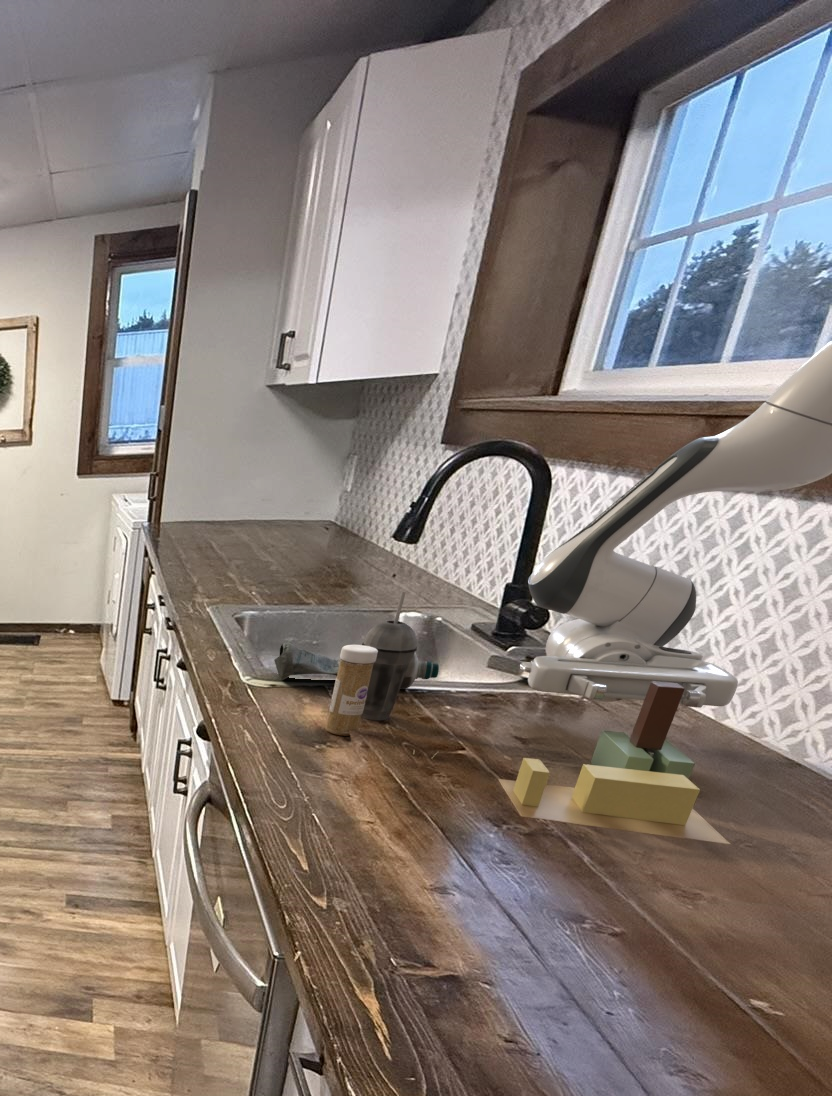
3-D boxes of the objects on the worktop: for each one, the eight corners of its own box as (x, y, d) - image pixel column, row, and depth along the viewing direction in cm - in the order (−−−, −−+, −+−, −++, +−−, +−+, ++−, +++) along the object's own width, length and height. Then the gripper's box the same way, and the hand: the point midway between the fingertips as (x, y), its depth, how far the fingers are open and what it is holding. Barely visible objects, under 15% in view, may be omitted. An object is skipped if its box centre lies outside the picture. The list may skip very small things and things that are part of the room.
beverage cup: (340, 716, 134) (368, 594, 126) (353, 705, 139) (380, 586, 131) (392, 726, 129) (424, 599, 121) (404, 714, 134) (435, 591, 126)
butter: (669, 809, 97) (683, 774, 95) (685, 825, 93) (700, 789, 91) (571, 797, 101) (583, 763, 99) (582, 812, 97) (595, 777, 95)
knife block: (645, 778, 108) (662, 735, 106) (677, 808, 100) (695, 763, 98) (586, 771, 111) (601, 730, 109) (612, 800, 103) (629, 756, 100)
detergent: (269, 685, 150) (438, 699, 138) (276, 646, 148) (448, 657, 136) (272, 672, 161) (429, 684, 148) (278, 636, 158) (438, 645, 146)
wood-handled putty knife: (633, 782, 107) (672, 680, 102) (648, 797, 103) (689, 691, 98) (609, 779, 108) (647, 678, 103) (623, 794, 104) (662, 689, 99)
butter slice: (528, 792, 102) (539, 759, 101) (538, 806, 99) (550, 772, 97) (512, 790, 103) (523, 757, 101) (521, 804, 99) (533, 770, 98)
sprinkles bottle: (348, 738, 125) (368, 652, 120) (318, 730, 129) (336, 646, 123) (364, 732, 127) (384, 647, 122) (334, 724, 131) (352, 642, 126)
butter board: (680, 812, 99) (685, 800, 99) (725, 856, 90) (731, 844, 89) (494, 789, 107) (497, 778, 106) (517, 827, 97) (521, 816, 97)
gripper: (523, 641, 119) (550, 665, 108) (715, 653, 111) (766, 681, 99) (510, 682, 122) (535, 711, 111) (697, 697, 113) (745, 730, 102)
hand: (646, 697), depth 105 cm, fingers open, 8 cm apart
